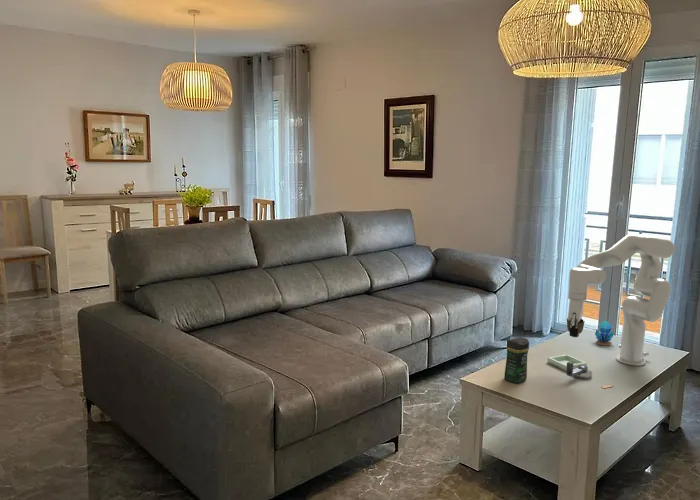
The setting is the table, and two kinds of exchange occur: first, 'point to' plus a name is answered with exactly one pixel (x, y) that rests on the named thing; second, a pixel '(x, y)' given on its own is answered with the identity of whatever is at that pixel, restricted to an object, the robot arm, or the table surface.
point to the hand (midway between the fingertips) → (574, 333)
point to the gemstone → (604, 334)
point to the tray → (565, 361)
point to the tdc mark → (607, 386)
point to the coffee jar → (516, 360)
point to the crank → (574, 372)
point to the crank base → (584, 374)
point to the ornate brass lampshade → (579, 326)
